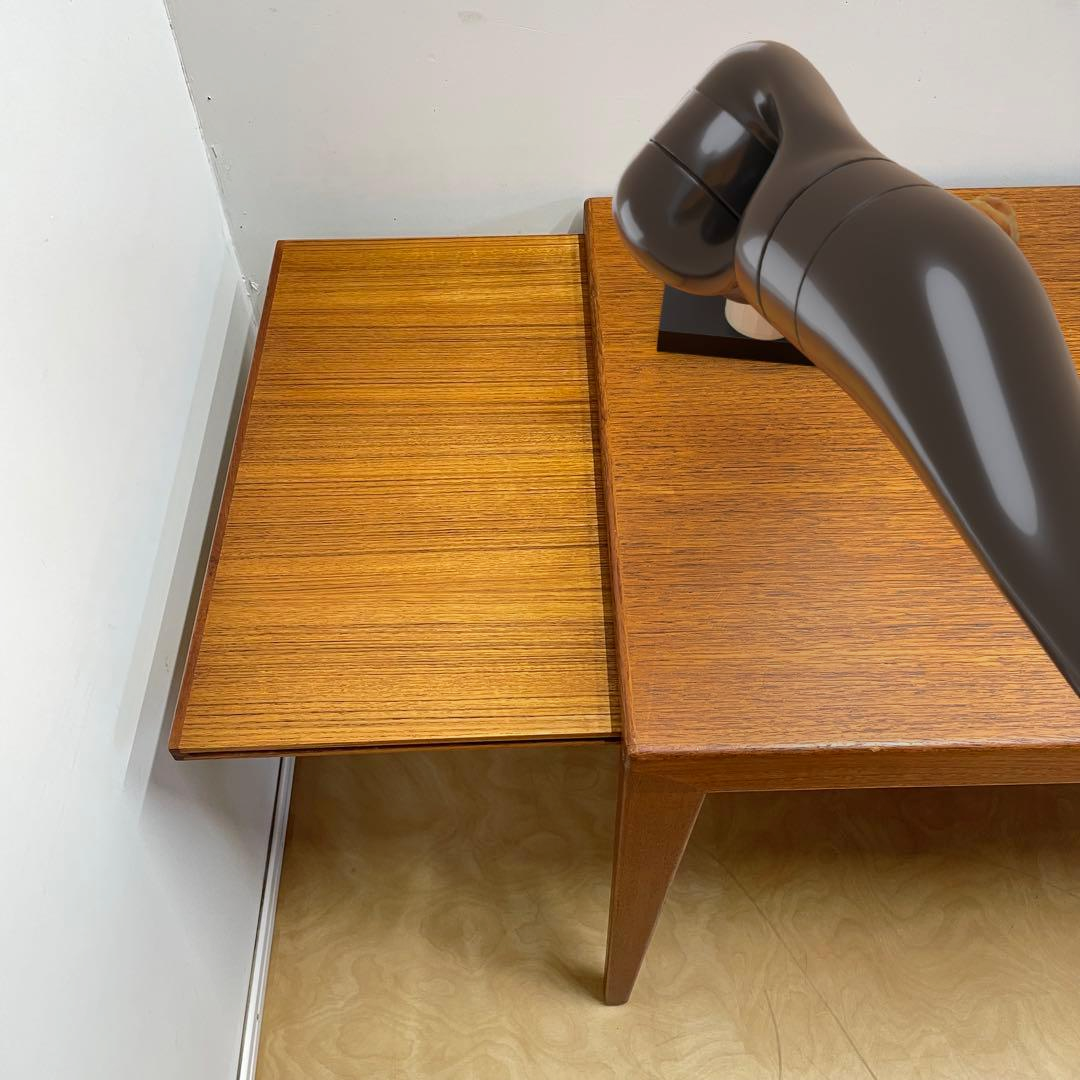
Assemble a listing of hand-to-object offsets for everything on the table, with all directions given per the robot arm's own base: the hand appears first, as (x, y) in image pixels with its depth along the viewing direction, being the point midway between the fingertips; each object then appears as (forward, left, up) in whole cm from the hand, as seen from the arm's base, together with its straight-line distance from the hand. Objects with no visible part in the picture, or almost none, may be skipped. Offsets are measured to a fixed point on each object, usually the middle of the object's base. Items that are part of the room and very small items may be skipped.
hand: (766, 268), depth 74 cm
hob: (-1, -11, -13) cm, 17 cm away
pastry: (-20, -23, -13) cm, 33 cm away
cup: (-1, -7, -11) cm, 13 cm away
